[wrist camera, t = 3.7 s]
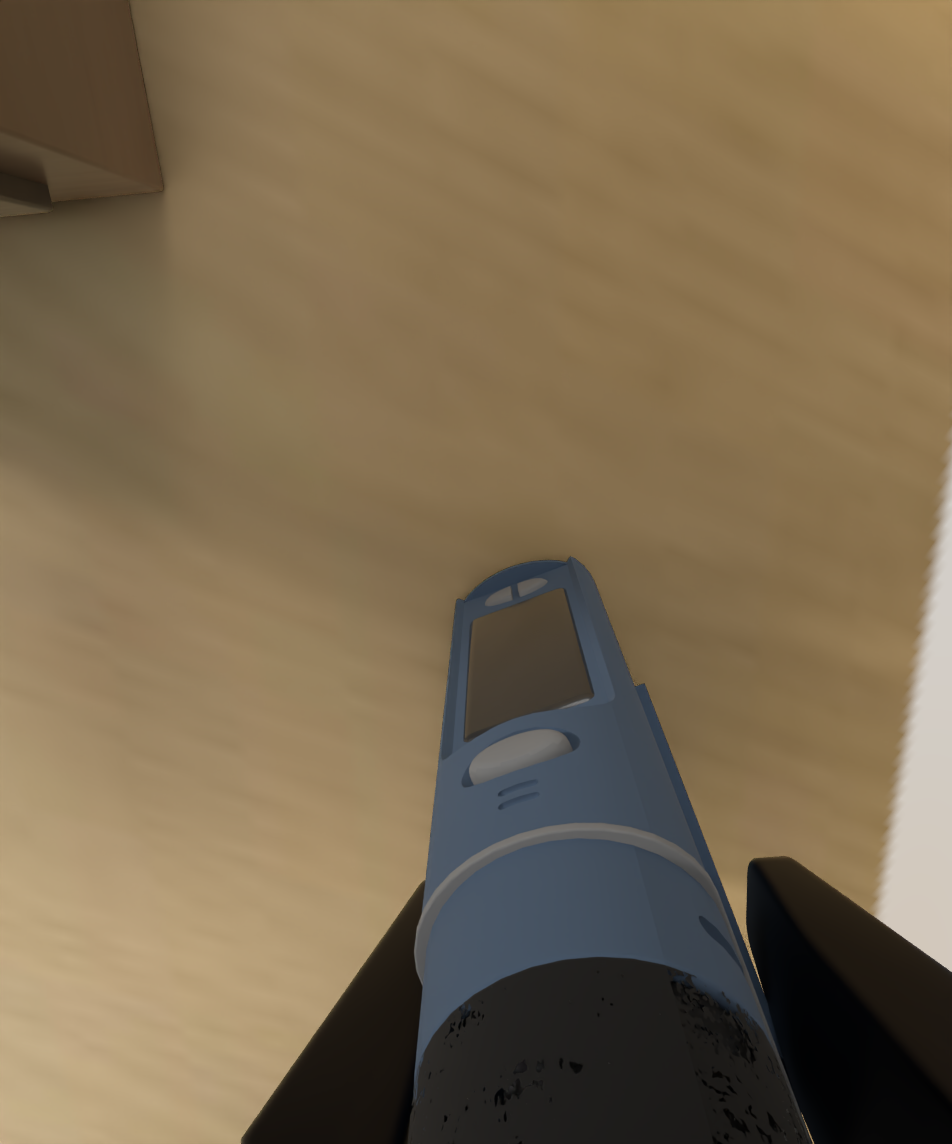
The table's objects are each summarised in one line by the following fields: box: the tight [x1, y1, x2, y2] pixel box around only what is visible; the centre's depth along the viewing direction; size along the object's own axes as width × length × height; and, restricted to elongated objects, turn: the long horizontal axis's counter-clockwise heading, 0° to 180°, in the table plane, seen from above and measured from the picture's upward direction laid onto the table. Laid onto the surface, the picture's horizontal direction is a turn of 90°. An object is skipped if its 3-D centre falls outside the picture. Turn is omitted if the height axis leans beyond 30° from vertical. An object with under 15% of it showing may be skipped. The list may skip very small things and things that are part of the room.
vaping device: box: [408, 556, 812, 1144], centre depth 8 cm, size 3×5×12 cm, turn 22°
